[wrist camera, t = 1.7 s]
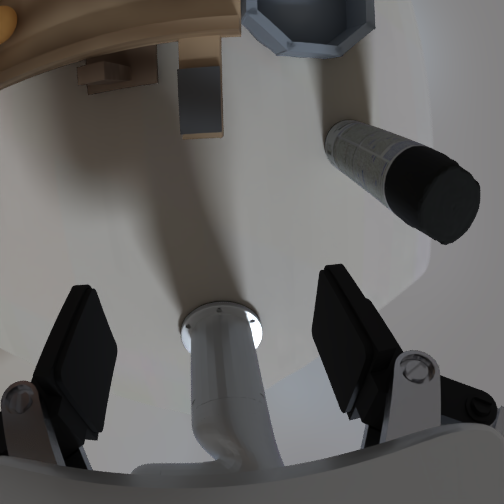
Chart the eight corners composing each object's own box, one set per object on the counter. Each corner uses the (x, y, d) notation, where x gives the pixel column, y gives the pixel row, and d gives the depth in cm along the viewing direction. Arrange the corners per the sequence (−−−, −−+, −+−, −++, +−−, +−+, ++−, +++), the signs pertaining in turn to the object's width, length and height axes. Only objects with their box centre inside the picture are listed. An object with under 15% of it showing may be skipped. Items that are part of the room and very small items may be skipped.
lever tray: (244, 129, 26) (241, 142, 20) (24, 156, 26) (-14, 175, 20) (241, -68, 16) (238, -101, 10) (18, -8, 16) (-20, -14, 10)
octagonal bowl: (351, 63, 31) (375, 62, 26) (239, 56, 29) (246, 50, 24) (348, -30, 24) (371, -43, 19) (238, -42, 23) (244, -63, 17)
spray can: (355, 179, 38) (453, 259, 21) (312, 156, 36) (403, 228, 19) (379, 135, 36) (494, 189, 19) (337, 108, 34) (450, 144, 16)
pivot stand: (158, 83, 29) (138, 81, 20) (90, 94, 29) (50, 100, 20) (158, -52, 20) (144, -93, 11) (92, -38, 20) (58, -69, 11)
